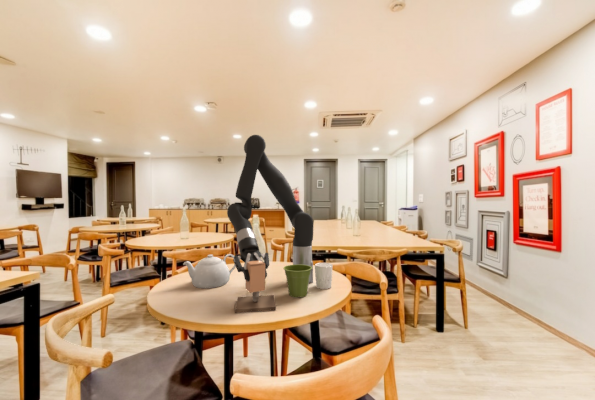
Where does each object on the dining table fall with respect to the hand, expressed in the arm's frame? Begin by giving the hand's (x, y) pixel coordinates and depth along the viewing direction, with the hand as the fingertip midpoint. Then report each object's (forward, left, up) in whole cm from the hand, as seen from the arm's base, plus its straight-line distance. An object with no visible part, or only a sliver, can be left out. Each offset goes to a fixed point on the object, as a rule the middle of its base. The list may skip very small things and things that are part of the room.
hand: (256, 279), depth 95 cm
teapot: (+21, -32, -10) cm, 40 cm away
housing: (+1, -2, -4) cm, 5 cm away
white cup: (-30, -18, -10) cm, 36 cm away
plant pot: (-17, -10, -10) cm, 22 cm away
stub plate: (0, -2, -10) cm, 10 cm away
